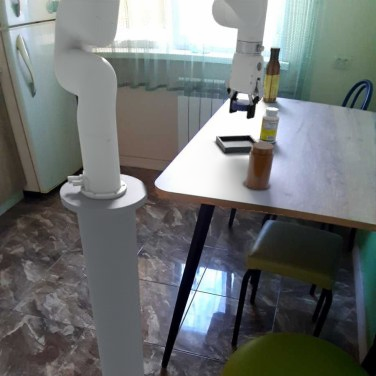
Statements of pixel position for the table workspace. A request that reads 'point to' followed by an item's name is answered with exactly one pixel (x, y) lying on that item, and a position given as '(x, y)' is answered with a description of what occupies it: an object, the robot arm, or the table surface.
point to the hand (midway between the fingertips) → (241, 114)
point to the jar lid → (240, 105)
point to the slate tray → (235, 143)
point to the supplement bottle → (269, 125)
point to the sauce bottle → (272, 76)
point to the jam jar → (259, 165)
